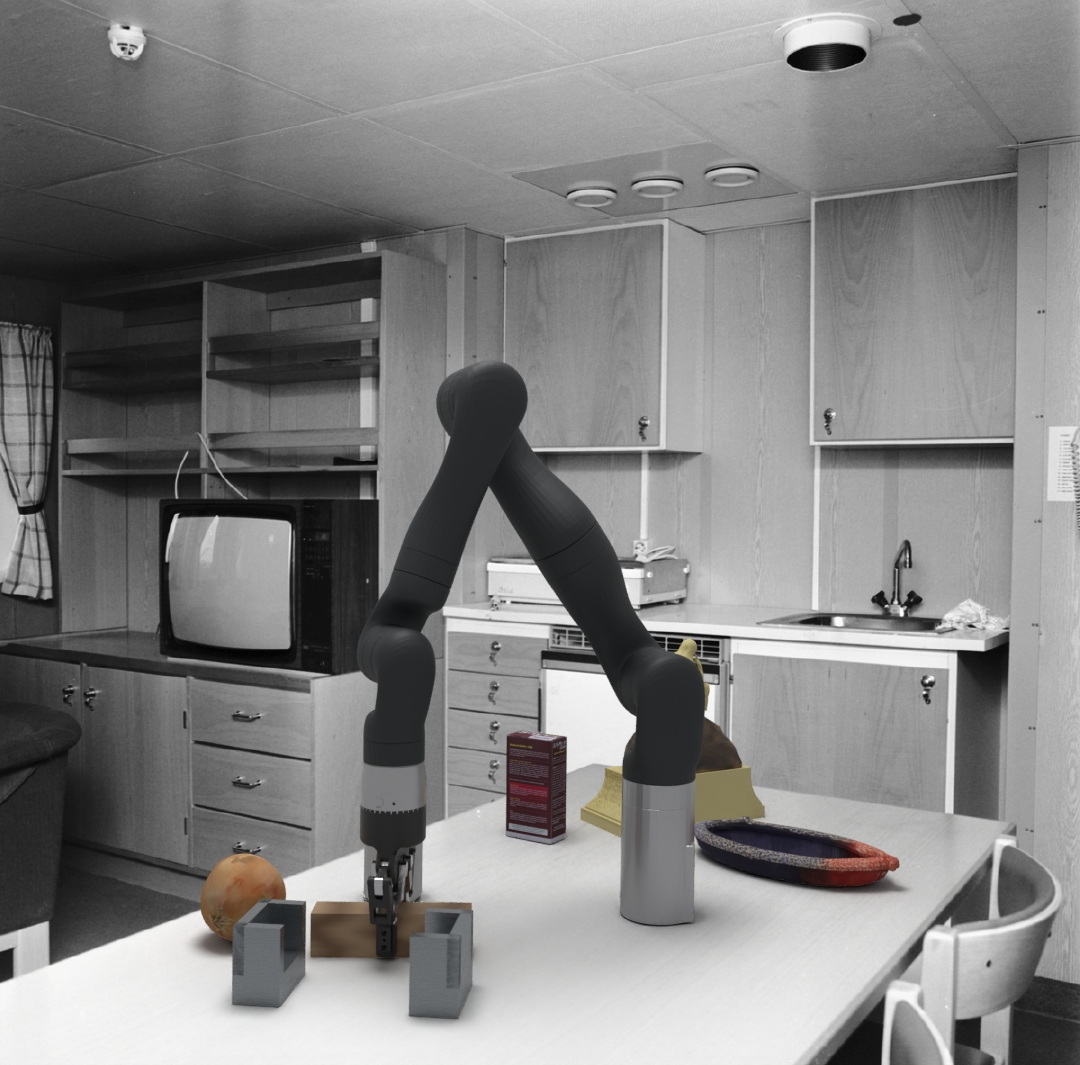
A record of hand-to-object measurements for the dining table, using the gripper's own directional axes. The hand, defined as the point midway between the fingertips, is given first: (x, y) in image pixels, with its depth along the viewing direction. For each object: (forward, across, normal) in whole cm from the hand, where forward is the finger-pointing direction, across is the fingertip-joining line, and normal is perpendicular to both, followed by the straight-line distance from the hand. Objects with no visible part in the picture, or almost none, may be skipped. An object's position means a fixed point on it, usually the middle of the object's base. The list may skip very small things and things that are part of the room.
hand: (391, 947), depth 133 cm
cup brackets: (0, -12, +1) cm, 12 cm away
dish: (+1, +38, -49) cm, 62 cm away
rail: (0, 0, 0) cm, 0 cm away
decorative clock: (+1, +62, -32) cm, 70 cm away
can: (+1, +17, +4) cm, 17 cm away
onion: (+1, +1, +18) cm, 18 cm away
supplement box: (+1, +48, -11) cm, 49 cm away
